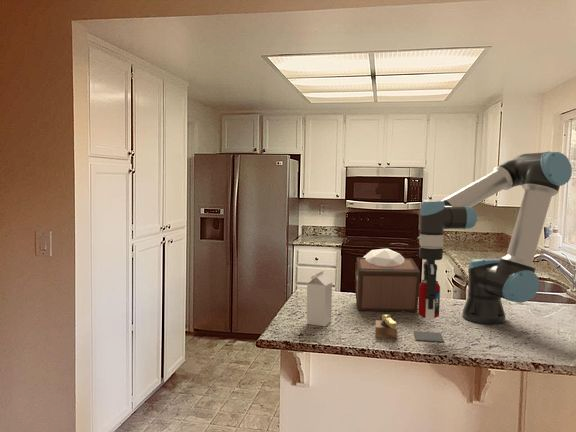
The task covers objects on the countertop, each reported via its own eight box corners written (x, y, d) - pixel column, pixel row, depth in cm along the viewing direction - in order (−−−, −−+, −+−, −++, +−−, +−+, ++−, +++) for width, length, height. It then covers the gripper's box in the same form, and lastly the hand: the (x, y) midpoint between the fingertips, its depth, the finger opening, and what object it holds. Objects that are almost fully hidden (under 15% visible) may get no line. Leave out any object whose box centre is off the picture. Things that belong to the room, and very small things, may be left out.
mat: (440, 333, 160) (440, 332, 160) (444, 342, 151) (444, 341, 151) (413, 332, 162) (413, 330, 162) (415, 340, 153) (415, 339, 153)
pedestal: (396, 331, 162) (396, 320, 162) (396, 338, 154) (397, 327, 154) (375, 330, 164) (375, 318, 163) (375, 337, 156) (375, 325, 155)
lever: (397, 328, 151) (397, 322, 151) (389, 329, 151) (389, 322, 150) (388, 320, 160) (389, 314, 160) (381, 320, 160) (381, 314, 160)
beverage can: (440, 320, 152) (441, 283, 151) (418, 318, 153) (420, 282, 152) (437, 314, 158) (439, 279, 158) (417, 313, 160) (418, 278, 159)
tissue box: (357, 319, 189) (359, 264, 182) (352, 288, 216) (354, 239, 209) (417, 320, 188) (422, 265, 181) (404, 289, 215) (408, 239, 207)
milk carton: (331, 321, 173) (332, 271, 172) (324, 327, 167) (325, 274, 165) (313, 319, 176) (314, 269, 175) (306, 324, 170) (307, 273, 168)
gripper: (416, 243, 165) (414, 307, 166) (421, 250, 145) (419, 322, 147) (439, 243, 163) (436, 308, 165) (447, 251, 144) (444, 324, 145)
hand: (428, 315), depth 156 cm, fingers closed on beverage can, 7 cm apart
